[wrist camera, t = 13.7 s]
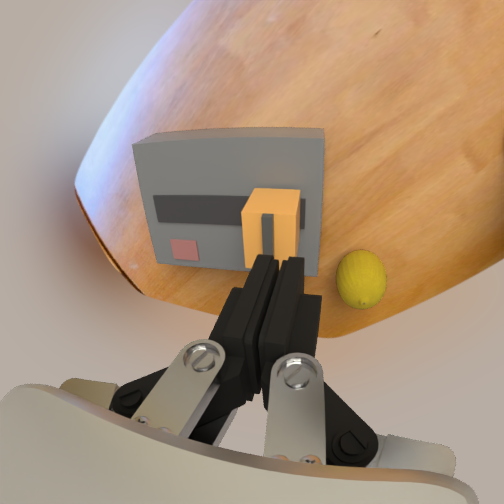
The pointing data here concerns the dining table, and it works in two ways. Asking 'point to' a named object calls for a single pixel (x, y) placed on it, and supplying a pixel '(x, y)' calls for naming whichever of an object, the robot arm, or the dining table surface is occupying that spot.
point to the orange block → (271, 224)
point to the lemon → (361, 279)
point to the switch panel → (226, 189)
